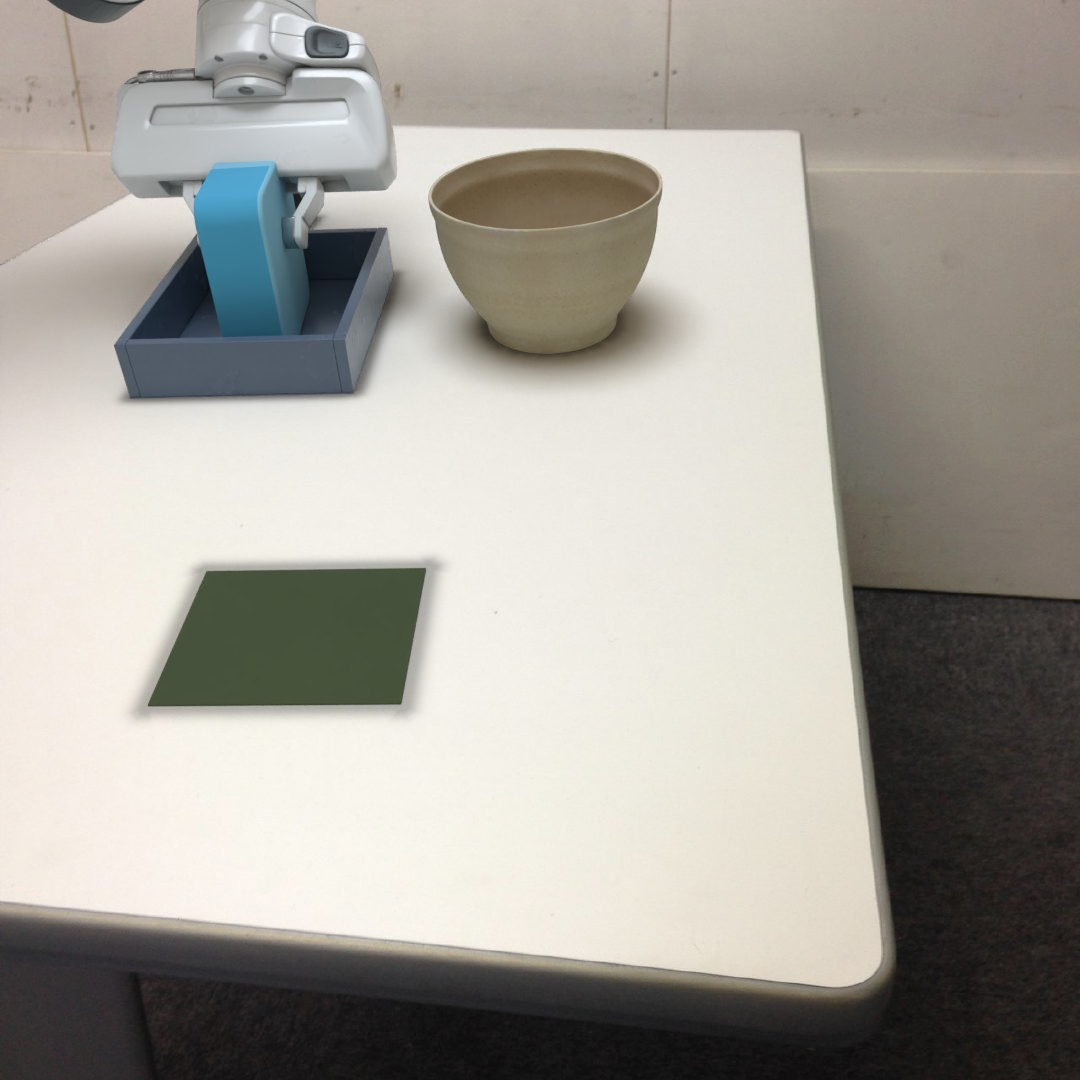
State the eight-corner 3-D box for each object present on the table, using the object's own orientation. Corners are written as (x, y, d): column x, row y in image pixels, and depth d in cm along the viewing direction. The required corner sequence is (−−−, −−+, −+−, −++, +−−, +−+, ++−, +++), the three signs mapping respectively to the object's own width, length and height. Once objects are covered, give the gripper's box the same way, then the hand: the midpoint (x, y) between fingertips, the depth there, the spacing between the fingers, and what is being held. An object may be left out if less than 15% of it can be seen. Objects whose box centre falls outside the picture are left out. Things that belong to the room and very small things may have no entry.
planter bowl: (513, 269, 90) (505, 136, 83) (693, 304, 83) (700, 162, 76) (400, 352, 79) (380, 205, 72) (596, 399, 72) (594, 243, 65)
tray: (130, 402, 75) (112, 344, 72) (209, 283, 90) (196, 232, 87) (354, 397, 74) (344, 339, 71) (394, 278, 89) (387, 227, 87)
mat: (149, 710, 51) (147, 704, 51) (207, 576, 59) (206, 570, 59) (402, 708, 50) (400, 703, 50) (426, 573, 58) (425, 567, 58)
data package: (255, 298, 86) (222, 146, 79) (311, 294, 87) (284, 142, 79) (229, 369, 77) (189, 204, 70) (292, 365, 77) (259, 199, 70)
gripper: (99, 47, 76) (90, 233, 74) (386, 35, 75) (384, 224, 73) (137, 95, 83) (129, 268, 81) (402, 85, 82) (400, 260, 80)
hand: (253, 247), depth 77 cm, fingers closed on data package, 5 cm apart
